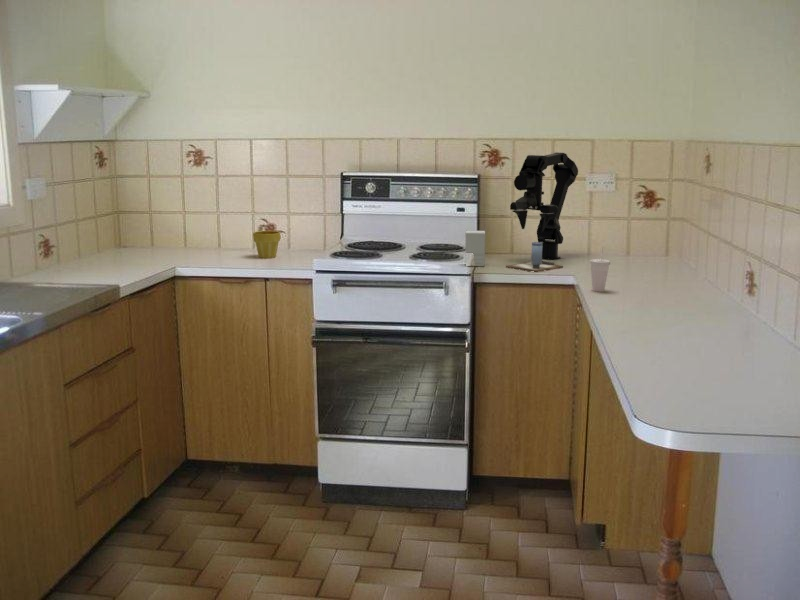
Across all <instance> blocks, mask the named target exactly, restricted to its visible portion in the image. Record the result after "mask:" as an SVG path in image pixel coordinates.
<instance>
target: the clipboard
mask: <svg viewBox="0 0 800 600" xmlns="http://www.w3.org/2000/svg"><path fill="white" fill-rule="evenodd" d="M507 267H508V269H513V268H514V269H515V270H519V269H520V270H521V271H525V270H527V271H526V272H531V271H534V272H533V273H539V272H538V271H541V272H545V271H544V270H546V271H551V270H550V269H552V270H557V269H556V268H558V269H562V268H564V266H563V265H559V264H555V263H554V262H550V261H545V260H544V261H543V260H542V264H541V265H540V267H539V269H534V268H533V265H532V264H531V261H526V262H520V263H513V264H508V265H507V264H506V265H505V268H507Z"/></svg>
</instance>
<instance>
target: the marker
mask: <svg viewBox="0 0 800 600" xmlns="http://www.w3.org/2000/svg"><path fill="white" fill-rule="evenodd" d="M542 245H543V242H538V241H533V242H531V253H530V254H531V257H530V258H531V259H530V262H531V264H532V265H533V268H534V269H539V267H540V265H541V264H542V261H543V258H542Z"/></svg>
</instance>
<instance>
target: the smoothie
mask: <svg viewBox="0 0 800 600" xmlns="http://www.w3.org/2000/svg"><path fill="white" fill-rule="evenodd" d="M603 253H604V247H602V246H601V248H600V258H597V259H596V258H595V259H594V258H593V259H590V260H589V264H590V270H591V271H590V274H591V286H592V287H591V288H592V289H591V290H592V291H593V292H600V293H603V292H605V289H606V284H607V279H608V278H607V277H608V275H609V274H608V273H609V267H610V265H611V260H608V259H603Z"/></svg>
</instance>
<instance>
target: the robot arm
mask: <svg viewBox="0 0 800 600" xmlns="http://www.w3.org/2000/svg"><path fill="white" fill-rule="evenodd" d="M550 166H552V170H553V172H554V179H555V182H556V184H555V187H554V190H553V193H552V197H551V200H550V203H549V204H544V202H542V201H543V200H542V199H543V198H542V195H545V191H543V179H544V177H545V176H546V174H545V173H544V172H543V171H545V170H547V168H548V167H550ZM578 173H579V169H578V166H577V164H576V163H575V161H574V160H572V159H571V158H570V157H569V156H568V154H567V153H565V152H554V153H550V154H544V155H541V154H540V155H539V154H538V155H535V154H533V155H532V154H529V155H528V154H527V156H526V158H525V159H524V162H523V164H522V166H521V168H520V170H519V172H518V175H517V176H516V177H515V178H514V181H513V185H514V188H515V189H516V190H518V191H524V193H523V196H520V197H519V198H518V199H516V200H515V201H512V202H511V203H510V206H509V210H512V213H514V214H516V216H517V218H518V220H519V224H520V227H521V229H522V230H525V228H526V223H527V218H528V212H529V210H532V211H540V213H539V216H540V219H539V223H538V226H537V229H536V238H537V242H541V243H543V245H542V259H545V260H557V259H561V256H558V254H559V245H561V244H563V242H564V236H563V234H562V232H561V224H560V221H559V219H560V216H561V213H562V210H563V206H564V203H565V200H566V196H567V193H568V190H569V187H570V186H572V184H574V183H575V181H576V179H577V176H578V175H579V174H578Z"/></svg>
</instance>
